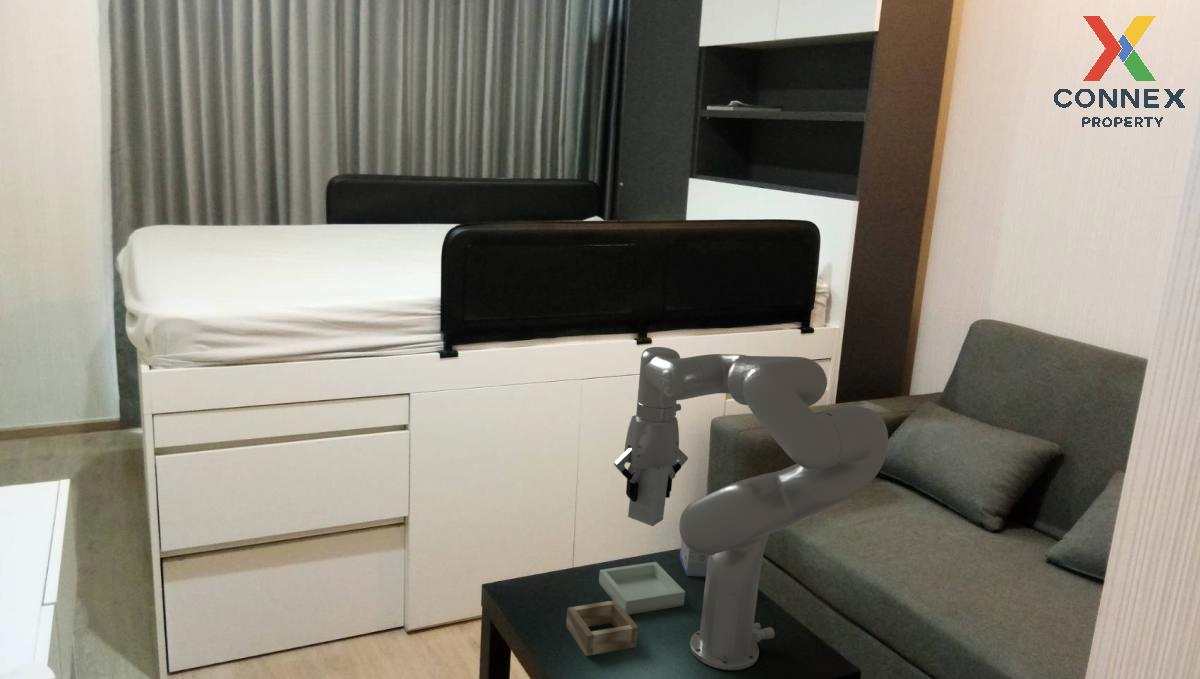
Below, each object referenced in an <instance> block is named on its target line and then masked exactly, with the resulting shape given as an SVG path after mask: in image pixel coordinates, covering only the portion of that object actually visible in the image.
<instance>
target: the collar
mask: <svg viewBox="0 0 1200 679" xmlns="http://www.w3.org/2000/svg"><path fill="white" fill-rule="evenodd" d="M566 612H567V613H566V624H565V627H566V629H567V630H568V631H569V633H570V634H571V636H572V638H573V639H574V641H575V642H576V643H577V645H578V646H579V648H580V649H581V651H582V653H583V654H584V655H585V656H586V657H589V656H594V655H595V656H596V655H601V654H605V653H606V654H607V653H610V652H617V651H621V650H628V649H633V648H636V647H637V646H638V637H639V626H638V625H637V624H636V623H635V622H634V620H633V618H631V616H630V615H628V614H627V613H626V612H625V611H624V609H623V608H622V607H621V606H620V604H619V603H618V602H617V601H616V600H608V601H601V602H595V603H590V604H582V605H577V606H570V607H567V610H566ZM606 624H611V625H612V626H613V627H611V628H606V629H605V628H604V629H598V630H592V631H591V629H590V628H589V627H595V626H600V625H606Z"/></svg>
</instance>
